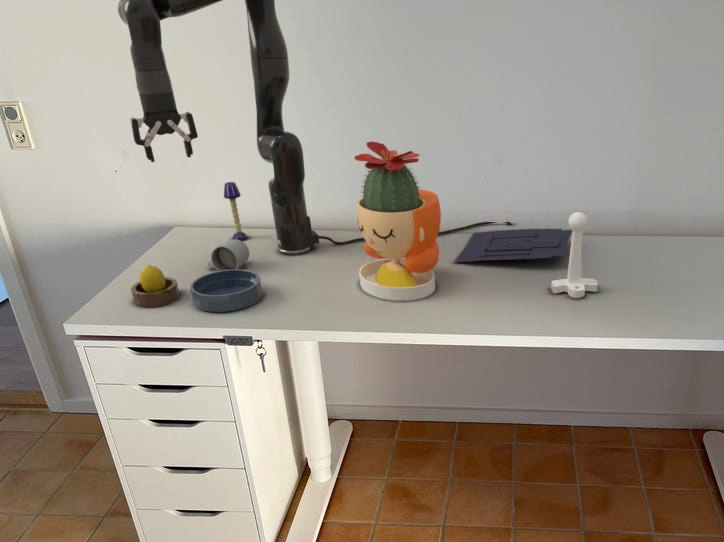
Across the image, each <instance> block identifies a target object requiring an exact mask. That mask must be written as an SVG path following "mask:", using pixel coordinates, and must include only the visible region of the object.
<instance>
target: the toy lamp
mask: <svg viewBox="0 0 724 542" xmlns="http://www.w3.org/2000/svg"><path fill="white" fill-rule="evenodd" d="M240 197H241V192H240V190H239V187H238V186H237V184H236V182H234V181H228V182H225V183H224V185H223V198H224V199H227V200H229V202H230V204H229V205H230V207H231V209H230V210H231V213H232V214H231V216H232V219H233V223H234V225H233V226H234V228H235V233H233V235H232V240H233V239H237V240H240V241H244V240H245V241H246V240H247V239H248V236H247V234H246V233H245V232H243V230H242V227H241V226H242V224H241V220H240V218H239V215H240V214H239V209H238V204H237V199H238V198H240Z"/></svg>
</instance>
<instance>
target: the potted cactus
mask: <svg viewBox="0 0 724 542" xmlns="http://www.w3.org/2000/svg"><path fill="white" fill-rule="evenodd" d="M366 147H367V149H369V150H370V151H371V152H373V153H374V154H376V155H377V156H378V157H375V156H374V155H372V154H370V153H360V154H357V155H354V160H355V161H358V162H365V164H364V167H365V168H366V172H367V173H366V174H365V173H364V175H363V176H365V179H362V180H360V181H362V183H363V184H361V190H360V191H359V192H360V196H361V197H360V199H359V200H358V201H357V206H356V207H357V208H356V211H357V213H356V215H357V217H356V219H357V224H358V229H359V231H360V233H361V236H362V238H364V239H365V240H364V241H365V244H364V251H365V253H366V254H367V255H368V256H370V257H371V258H374V259H378V260H373V261H370V262H367V263H365V264H363V265H362V266H361V267H360V268H359V270H358V274H359V283H360V288H361V289H362V290H363V292H365V293H367V294H369V295H370V296H373V297H375V298H378V299H381V300H387V301H397V302H407V301H416V300H421V299H424V298H426V297H429V296H430V295H432V294H433V293H435V290H436V281H435V280H436V279H435V278H436V276H435V272H434V270H433V269H434V268H435V267H436V265H437V264H438V262H439V260H440V259H439V258H440V257H439V256H440V247H439V244H438V242H437V238H438V236H439V235H438V233H439V232H440V228H441V221H442V213H441V212H442V211H441V203H440V199H439V196H438V194H437V193H435V192H433V191H431V190H427V189H422V188H420V187H421V186H420V184H419V183H420V181H416V180H418V177H417V175H415V174H413V173H415V172H414V170H412V167H411V166H409V165H408V164H413V163H414V164H415V163H419V161H420V160H419V157H420V156H421V155H420V154H419V153H416V152H415V151H412V150H409V151H406V152H404V153H401V154H398V152H397V150H396V149H394V150H393V149H391V150H389V149H388V148H387V146H386V145H385V144H384V143H380V142H378V141H372V140H371V141H368V142H367V141H366ZM379 157H380V158H379ZM418 184H419V185H418Z"/></svg>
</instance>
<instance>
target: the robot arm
mask: <svg viewBox="0 0 724 542" xmlns="http://www.w3.org/2000/svg"><path fill="white" fill-rule="evenodd" d="M222 1H224V0H119V1H118V4H117V13H118V16H119V18H120V19H121V21H122V22H123V23H124V24H125V25H127V26H128V31H129V36H130V40H131V44H130V47H129V51H130V56H131V61H132V65H133V69H134V73H135V74H134V77H135V83H136V89H137V91H138V95H139V96H138V97H139V100H140V104H141V108H142V113H143V117H141V118H140V117H139V118H138V117H133V116H132V117H131V118H130V126H131V132H132V136H133V141H134V143H135V144H136V146H142V147H143V149H144V153H145V156H146V159H147V160H148V161H150V163H155V156H154V152H153V149H152V146H151V144H152V142H153V140H154V139H155V138H156V135H158V136H163V135H173V134H174V133H175V132H176V133H177V134H178V136H180V137H181V138H182V139H183V146H184V150H185V156H186V157H187V158H191V157H192V155H193V154H194V151H193V145H192V140H194V139H197V138H198V137H199V135H198V132H197V128H196V124H195V121H194V117H193V114H192V113H191V112H189V111H185V112H184V113H179V111H178V108H177V103H176V99H175V93H174V89H173V84H172V79H171V76H170V74H169V71H168V66H167V62H166V58H165V54H164V50H163V43H162V42H163V40H162V27H161V21H164V20H167V19H168V18H169V19H170V18H179V17H183V16H185V15H188V14H191V13H195V12H196V11H199V10H202V9H204V8H208V7H210V6H212V5H214V4H217V3H220V2H222ZM244 2H245V8H246V9H245V10H246V17H247V31H248V41H249V53H250V54H249V55H250V65H251V72H252V79H253V89H254V90H253V91H254V100H255V108H256V109H255V110H256V111H255V112H256V147H257V151H258V154H259V156H260V157H261V159H262V160H263V161H265V162H266V163H269V164H271V165H272V168H273V178H271V179H269V181H268V191H269V198H270V203H271V209H272V210H271V211H272V215H273V222H274V223H273V224H274V228H275V234H276V238H275V242H276V243H277V248H278V252H279V253H280V254H283V255H291V256H292V255H293V256H294V255H301V254H305V253H308V252H309V251H311V250H314V249H315V245H319V244H320V240H321V239H322V240H327V241H329V242H331V243H332V244H334V245H340V246H341V245H347V244H352V243H356V242H361V241H366V240H365V239H364V237H358V238H354V239H350V240H346V241H335V240H334V239H333V238H331V237H328V236H324V235H319V234H318V233H317V232H316V231H314V229H313V228H312V223H311V217H310V216H309V215H308V211H307V210H308V209H307V202H306V196H305V188H304V184H305V183H304V182H305V177H306V172H305V160H304V150H303V147H302V143H301V141H300V138H299V137H298V136H297V135H296V134H295V133H293V132H290V131H286V130H285V128H284V127H285V126H284V119H283V104H284V100H285V96H286V93H287V90H288V86H289V82H290V62H289V53H288V47H287V43H286V40H285V37H284V34H283V31H282V28H281V25H280V23H279V20H278V15H277V11H276V1H275V0H244ZM181 120H183V121H184V122H185V123H186V124H187V127H188V131H189V133H186V132H185V131H184V130H182V128H181V127H179V125H180V122H181ZM143 124H144V125H145V126H147V128H148V130H147V131H146V133H145V136H144V138H143V139H142V138H141V134H140V133H141V132H140V129H141V128H142V125H143ZM507 221H508V222H504V223H505V224H507V225H509V226H512V225H513V224H512V222H510V221H509V220H507ZM494 223H496V222H488V221H482V222H476V223H472V224H468V225H464V226H461V227H456V228H453V229H449V230H444V231H439V233H438V236H441V235H446V234H449V233H455V232H458V231H463V230H466V229H471V228H473V227H477V226H478V227H479V226H484V225H489V224H494Z"/></svg>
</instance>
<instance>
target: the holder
mask: <svg viewBox="0 0 724 542" xmlns="http://www.w3.org/2000/svg"><path fill="white" fill-rule="evenodd" d="M164 277H165V282H166V284H165V288H164V290H162V291H157V292H151V293H148V292H146V291H145V290H144V289H143V287H142V285H141V282H140V281H137V282H136V283H135V284H133V285H132V286H131V287H130V291H131V295H132V298H133V301H134V304H135V305H136V306H138V307H140V308H141V307H142V308H157V307H163V306H166V305H169V304H172V303H174V302H175V301H177V300H178V299H179V298H180V296H181V295H180V294H181V293H180V289H179V284H178V282H177V280H176V279H175V278H172V277H167V276H164Z"/></svg>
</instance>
